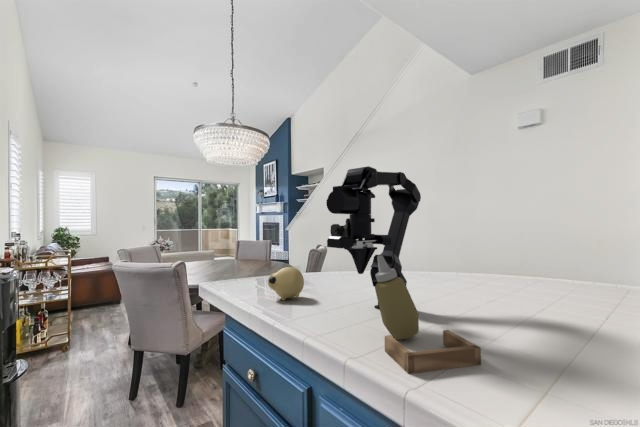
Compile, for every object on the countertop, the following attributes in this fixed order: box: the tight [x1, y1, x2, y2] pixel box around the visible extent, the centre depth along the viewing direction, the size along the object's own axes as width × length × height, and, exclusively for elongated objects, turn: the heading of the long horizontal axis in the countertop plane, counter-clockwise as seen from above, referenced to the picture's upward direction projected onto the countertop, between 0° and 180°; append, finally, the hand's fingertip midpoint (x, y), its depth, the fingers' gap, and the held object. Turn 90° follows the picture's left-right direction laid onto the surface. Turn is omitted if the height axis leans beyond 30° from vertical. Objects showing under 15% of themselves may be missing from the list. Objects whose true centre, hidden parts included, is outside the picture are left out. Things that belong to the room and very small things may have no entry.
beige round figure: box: [267, 266, 305, 301], centre depth 101 cm, size 10×12×11 cm
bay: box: [384, 329, 482, 374], centre depth 57 cm, size 9×14×3 cm, turn 103°
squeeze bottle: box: [374, 255, 420, 340], centre depth 67 cm, size 8×8×18 cm
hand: (360, 273), depth 79 cm, fingers closed
